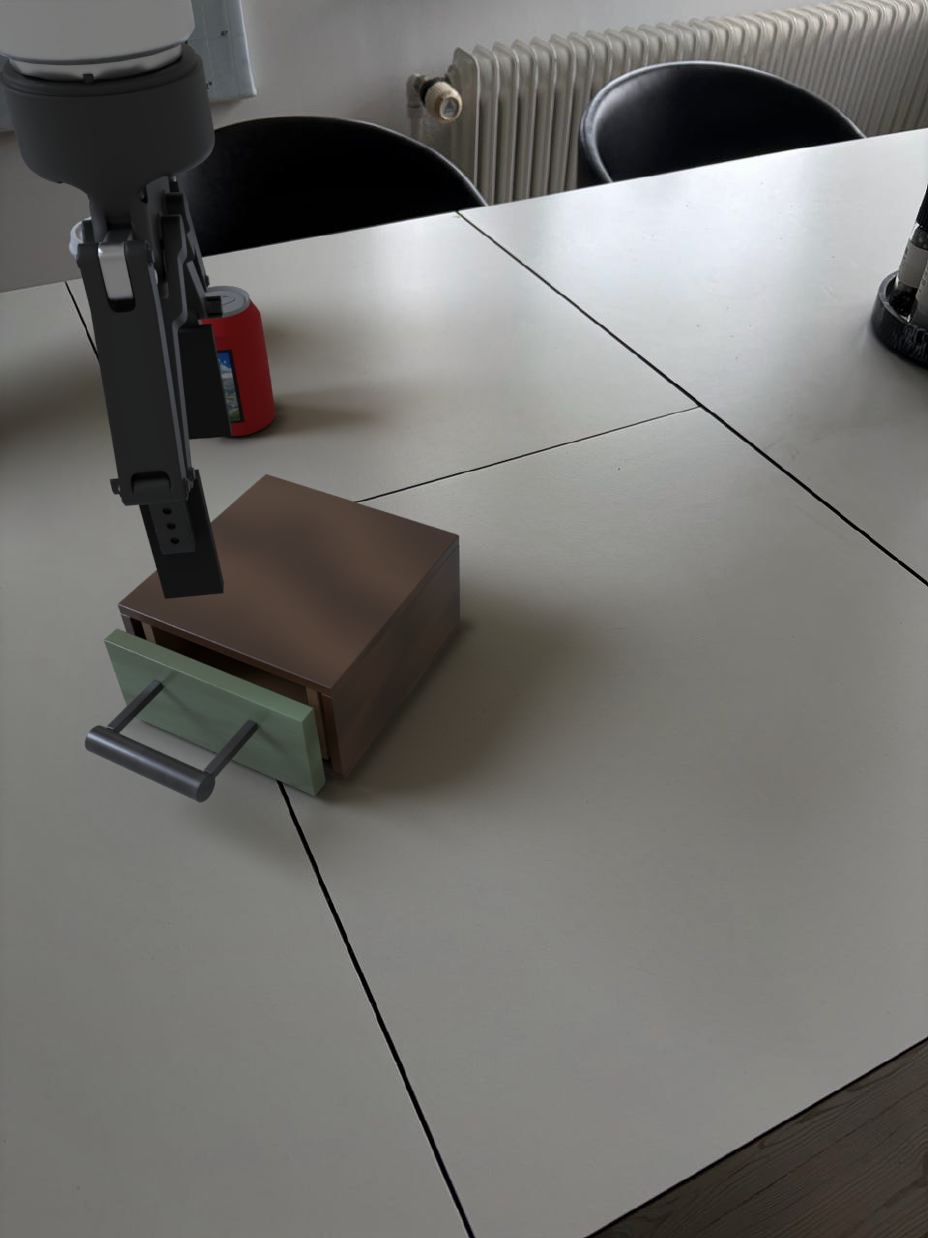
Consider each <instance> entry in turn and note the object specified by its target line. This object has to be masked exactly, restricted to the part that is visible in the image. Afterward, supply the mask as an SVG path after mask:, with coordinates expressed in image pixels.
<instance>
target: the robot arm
mask: <svg viewBox="0 0 928 1238" xmlns="http://www.w3.org/2000/svg"><path fill="white" fill-rule="evenodd" d="M195 28H196V23H195V17H194V10H193V4H192V0H0V56H3V57H5V58H8V59H6V60H5V61H4V63H3V65H2V67H1V71H0V87H1V88H0V89H1V91H2V94H3V97H4V101H5V105H6V107H7V111H8V115H9V119H10V122H11V125H12V128H13V132H14V135H15V139H16V142H17V146H18V149H19V154H20V156H21V159H22V160H23V162H24V164H25V166H26V167H27V168H28V169H29V170H30V171H31V172H32V173H33V174H35V175H36V176H38V177H40V178H41V179H44V180H46V181H49V182H52V183H54V184H59V185H61V184H67V185H69V186H72V187H74V188H76V189H78V190H80V191H82V192H83V193H84V194H85V195H86V196H87V199H88V200H89V201H88V202H89V205H88V208H89V213H90V217H91V219H92V220H84V219H82V220H81V221H82V224H81V228H82V238H83V243H79V244H78V246H77V254H76V259H75V260H76V265H77V268H78V269H79V271H80V275H81V278H82V282H83V287H84V291H85V295H86V299H87V302H88V307H89V311H90V316H91V322H92V329H93V330H92V331H93V337H94V341H95V346H96V353H97V359H98V365H99V371H100V378H101V383H102V388H103V394H104V401H105V407H106V408H105V409H106V411H107V412H106V413H107V418H108V425H109V431H110V436H111V444H112V449H113V455H114V462H115V467H116V473H117V477H116V478H109V484H110V487H111V491H112V493H113V495H116V496H117V495H119V498H120V500H121V503H122V504H123V505H124V506H125V507H130V506H138V508H139V511H140V515H141V518H142V522H143V525H144V530H145V532H146V536H147V539H148V540H147V541H148V543H149V548H150V551H151V554H152V557H153V561H154V566H155V569H156V570H157V572H158V576H159V579H160V583H161V587H162V590H163V594H164V597H165V599H169V598H180V597H190V596H200V595H211V594H221V593H223V592H224V581H223V576H222V572H221V567H220V563H219V558H218V554H217V549H216V545H215V540H214V536H213V531H212V527H211V519H210V514H209V508H208V505H207V500H206V495H205V491H204V486H203V482H202V477H201V473H200V469H197V468H196V469H195V468H194V467H193V464H192V455H191V445H190V440H191V441H192V440H204V439H216V438H227V437H229V438H230V437H233V436H232V428H231V422H230V417H229V412H228V406H227V401H226V396H225V391H224V385H223V380H222V375H221V369H220V364H219V359H218V354H217V348H216V343H215V338H214V333H213V327H212V324H202V322H201V320H202V319H217V318H223V306H222V300H221V296H206V295H205V293H208V287H211V286H210V285H211V282H210V277H209V275H208V274H207V272H206V271H207V270H206V268H205V264H204V261H203V256H202V254H201V250H200V245H199V242H198V237H197V235H196V230H195V226H194V223H193V220H192V215H191V211H190V208H189V201H188V198H187V195H186V193H185V190H184V186H183V183H182V179H181V175H182V174H185V173H187V172H189V171H192V170H193V169H195V168H197V167H198V166H199V165H201V164H202V163H203V162H204V161H206V160H207V158H209V156H210V155H211V153H212V152H213V150H214V147H215V142H216V134H215V128H214V122H213V116H212V110H211V104H210V99H209V91H208V87H207V81H206V74H205V68H204V63H203V58H202V57H201V55H199V53H197V52H196V51H195V49H194V48H193V47H192V46H191V45H189V44H187V43H185V42H187V40H188V39H189V38H190V36H191V35H192V34H193V32H194V31H195Z"/></svg>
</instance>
